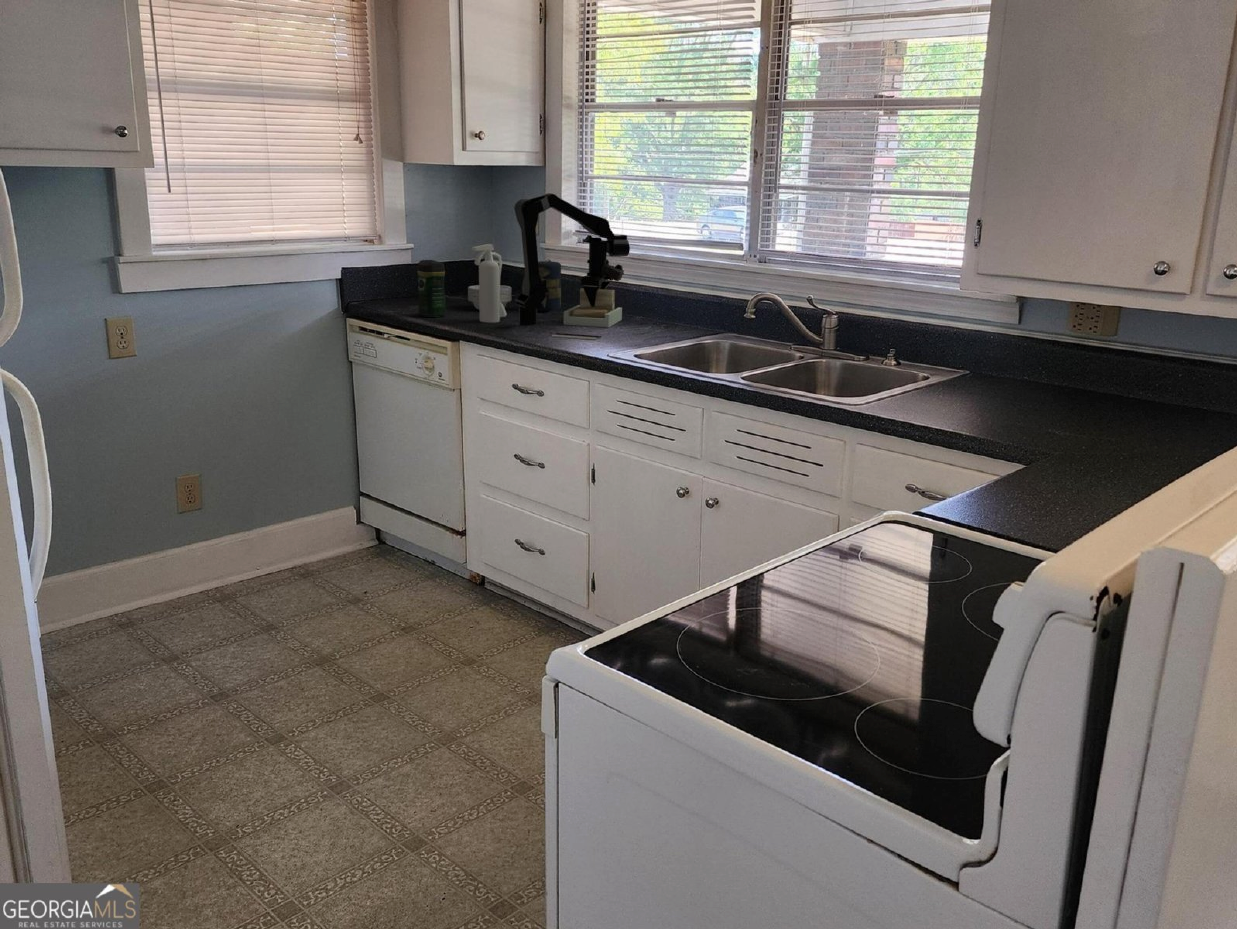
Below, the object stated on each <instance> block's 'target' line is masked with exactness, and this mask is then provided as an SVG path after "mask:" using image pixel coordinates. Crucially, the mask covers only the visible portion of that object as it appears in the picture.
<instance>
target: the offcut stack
mask: <svg viewBox="0 0 1237 929" xmlns="http://www.w3.org/2000/svg"><path fill="white" fill-rule="evenodd" d="M605 314H607V310H596V309H580V308H577V309H575V310H574V314H572V316H573V317H588V318H603V319H605Z"/></svg>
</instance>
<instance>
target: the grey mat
mask: <svg viewBox="0 0 1237 929" xmlns="http://www.w3.org/2000/svg"><path fill="white" fill-rule="evenodd" d="M551 337H552V338H561V339H562V338H563V339H578V340H589V341H590V340H592V341H597V340H599V339H600V338H602V337H603V335H592V334H591V335H590V334H575V333H559V332H556V333H554V334H552V335H551Z"/></svg>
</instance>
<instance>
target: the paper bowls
mask: <svg viewBox="0 0 1237 929" xmlns="http://www.w3.org/2000/svg"><path fill="white" fill-rule="evenodd" d="M467 287H468V288H467V300H468V301H469V302H472V304H473V306H474V308H475V309H477V310H478V311H480V308H479V284H478V285H477V284H476V285H470V286H467ZM499 298H500V302H501V304H503V307H504V309H505V308H506V306H507V303H509V302H512V287H511V286H509V285H504V284H503V285H501V284H500V297H499Z"/></svg>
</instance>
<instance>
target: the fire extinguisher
mask: <svg viewBox="0 0 1237 929" xmlns="http://www.w3.org/2000/svg"><path fill="white" fill-rule="evenodd" d="M471 251H475V252H477V251H479V252H478V253H477V255H476V257H475V259H474V265H476V266H478V285H479V308H480V310H479V322H482V323H490V324H491V323H492V324H493V323H499V322H500V319H501V318H503V317H505V318H506V316H507V311H506V309H505V308H504V307H503V304H501V302H500V298H499V297H500V285H501V274H502V268H503V261H502V255H500V253H497V252H496V251H495V250H494V245H493V244H491V243H486V244H481V245H477V246H472V247H471ZM492 251H495V252H492ZM484 255H485V256H484ZM493 256H495V257H497V258H498V262H497V261H495V260H494V258H493ZM483 257H484V260H482V258H483ZM481 260H482V261H481Z"/></svg>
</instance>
